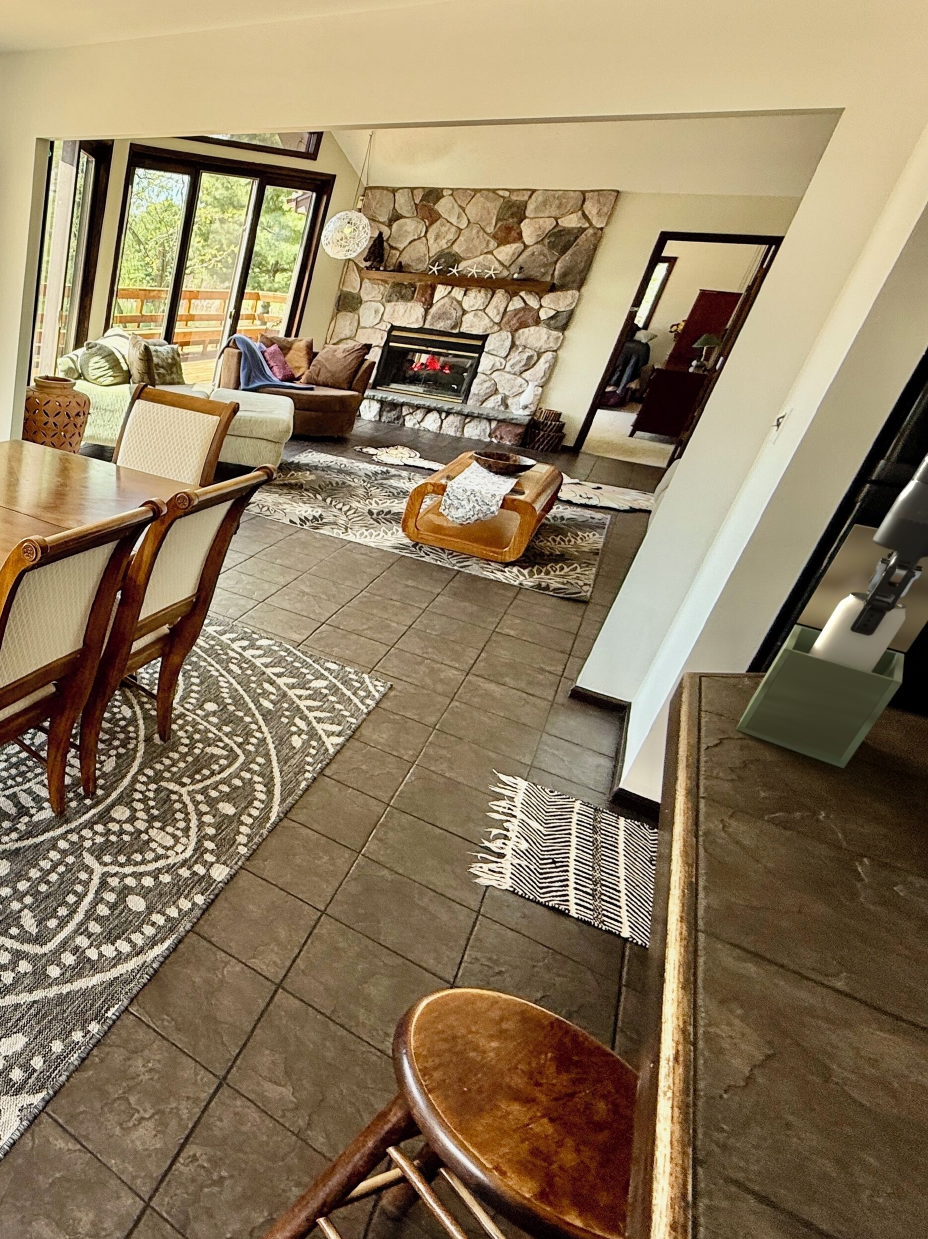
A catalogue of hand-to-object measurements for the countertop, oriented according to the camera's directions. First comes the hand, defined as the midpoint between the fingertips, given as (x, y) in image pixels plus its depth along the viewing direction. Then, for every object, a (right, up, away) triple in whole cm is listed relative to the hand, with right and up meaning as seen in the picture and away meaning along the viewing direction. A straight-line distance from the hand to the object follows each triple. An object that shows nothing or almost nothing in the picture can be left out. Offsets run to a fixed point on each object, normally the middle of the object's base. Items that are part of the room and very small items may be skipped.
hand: (861, 627), depth 107 cm
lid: (+6, +6, +2) cm, 8 cm away
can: (-1, -7, +3) cm, 8 cm away
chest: (-2, -17, +8) cm, 18 cm away
